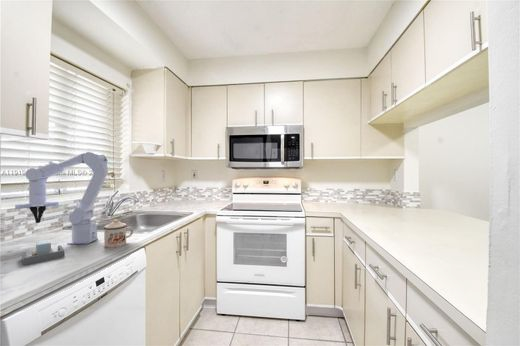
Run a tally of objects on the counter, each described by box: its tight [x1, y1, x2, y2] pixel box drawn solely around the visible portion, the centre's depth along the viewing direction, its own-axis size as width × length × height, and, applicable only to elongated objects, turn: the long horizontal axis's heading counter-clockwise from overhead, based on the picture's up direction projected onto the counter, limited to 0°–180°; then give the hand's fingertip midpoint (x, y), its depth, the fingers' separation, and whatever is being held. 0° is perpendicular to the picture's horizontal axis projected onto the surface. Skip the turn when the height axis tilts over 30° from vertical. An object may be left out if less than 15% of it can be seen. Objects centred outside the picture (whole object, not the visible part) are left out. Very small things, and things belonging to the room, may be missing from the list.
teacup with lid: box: [103, 219, 134, 248], centre depth 108 cm, size 12×9×12 cm
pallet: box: [31, 247, 55, 256], centre depth 91 cm, size 9×6×2 cm, turn 48°
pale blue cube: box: [35, 240, 52, 255], centre depth 91 cm, size 4×4×4 cm
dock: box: [21, 244, 66, 266], centre depth 91 cm, size 9×12×2 cm
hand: (37, 222), depth 107 cm, fingers closed
